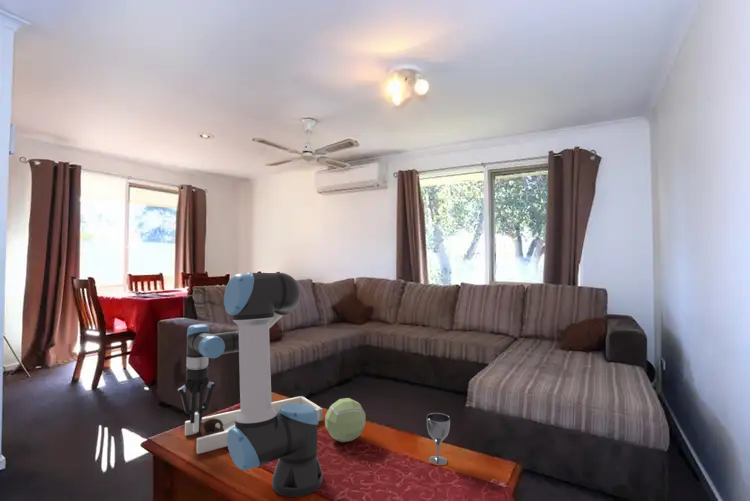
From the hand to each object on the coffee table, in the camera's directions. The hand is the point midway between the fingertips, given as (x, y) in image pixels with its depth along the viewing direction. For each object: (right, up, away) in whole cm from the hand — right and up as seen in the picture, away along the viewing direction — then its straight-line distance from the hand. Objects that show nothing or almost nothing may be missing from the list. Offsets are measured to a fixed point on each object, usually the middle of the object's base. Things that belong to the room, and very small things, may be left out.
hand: (195, 430), depth 148 cm
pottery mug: (+3, -5, +4) cm, 7 cm away
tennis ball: (+55, -6, +5) cm, 55 cm away
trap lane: (+18, -7, +14) cm, 24 cm away
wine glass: (+88, -6, -10) cm, 89 cm away
